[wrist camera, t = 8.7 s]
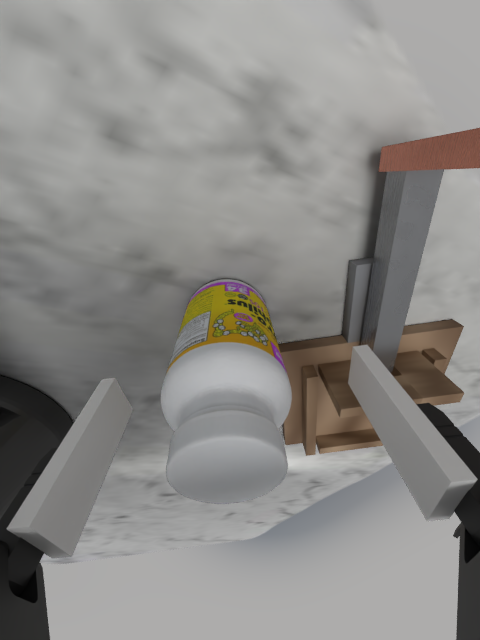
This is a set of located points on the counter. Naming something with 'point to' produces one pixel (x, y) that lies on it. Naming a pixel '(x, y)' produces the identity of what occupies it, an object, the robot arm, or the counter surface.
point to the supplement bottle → (226, 398)
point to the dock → (334, 366)
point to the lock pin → (407, 229)
